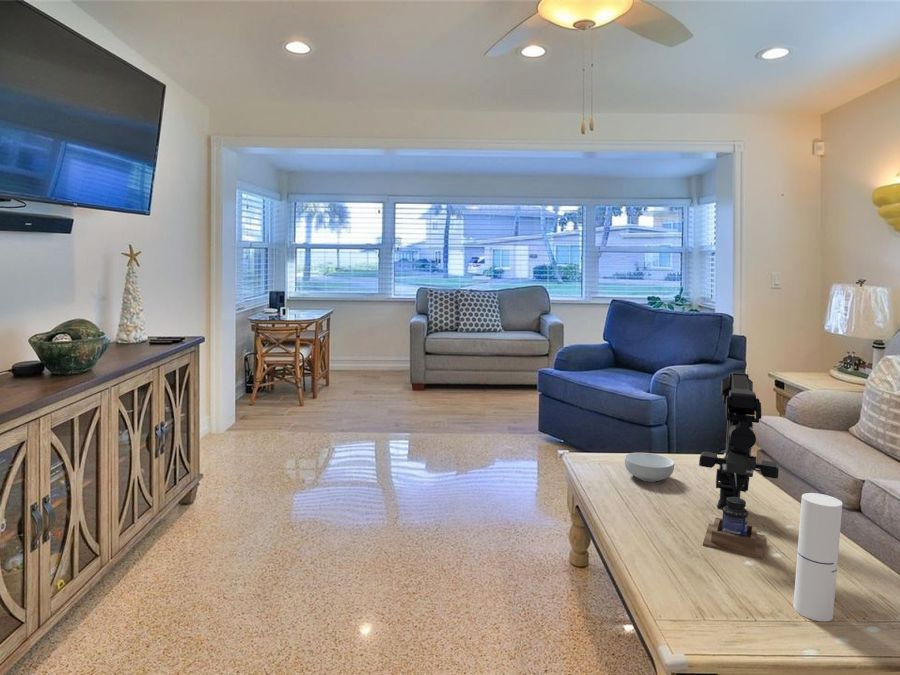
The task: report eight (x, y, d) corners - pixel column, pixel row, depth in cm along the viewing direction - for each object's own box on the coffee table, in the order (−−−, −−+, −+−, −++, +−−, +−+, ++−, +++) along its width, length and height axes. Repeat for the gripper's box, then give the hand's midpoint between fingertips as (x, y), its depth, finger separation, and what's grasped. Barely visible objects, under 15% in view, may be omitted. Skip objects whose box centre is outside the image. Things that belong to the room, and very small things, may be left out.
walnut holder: (708, 525, 160) (709, 513, 160) (764, 537, 153) (765, 524, 153) (702, 545, 148) (703, 532, 148) (762, 559, 141) (763, 545, 141)
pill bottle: (749, 545, 147) (752, 505, 146) (724, 543, 148) (727, 503, 147) (742, 535, 153) (744, 496, 152) (718, 532, 154) (720, 494, 153)
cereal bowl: (681, 487, 190) (682, 467, 189) (632, 486, 190) (633, 466, 190) (663, 470, 207) (663, 451, 206) (618, 469, 207) (619, 451, 206)
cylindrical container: (785, 602, 122) (793, 493, 120) (816, 601, 123) (824, 492, 120) (809, 622, 115) (818, 506, 113) (841, 620, 116) (851, 505, 113)
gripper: (698, 441, 146) (694, 497, 148) (780, 452, 137) (775, 513, 138) (703, 431, 156) (700, 484, 157) (780, 441, 146) (776, 498, 148)
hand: (736, 495), depth 150 cm, fingers closed
